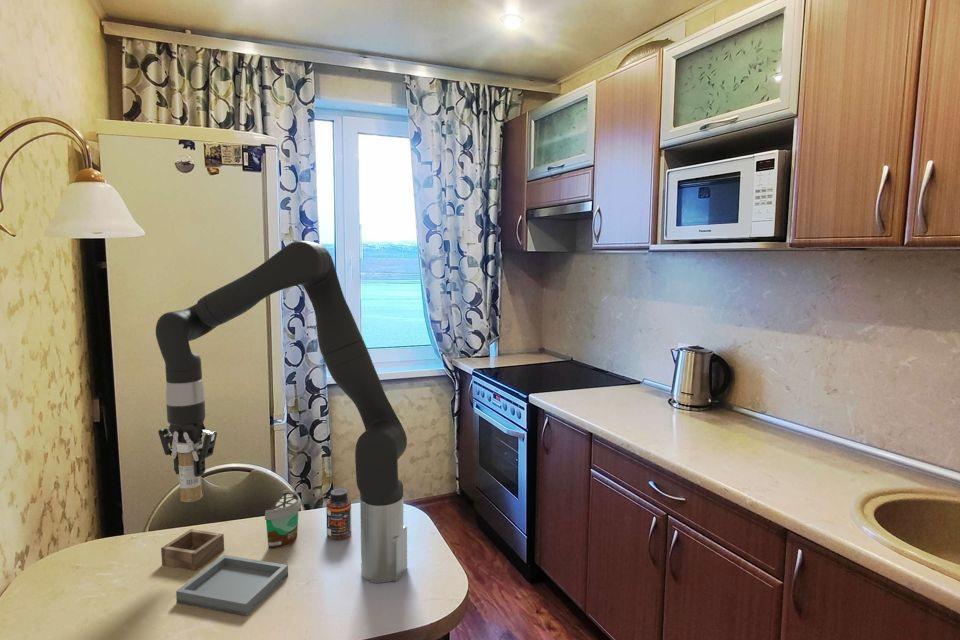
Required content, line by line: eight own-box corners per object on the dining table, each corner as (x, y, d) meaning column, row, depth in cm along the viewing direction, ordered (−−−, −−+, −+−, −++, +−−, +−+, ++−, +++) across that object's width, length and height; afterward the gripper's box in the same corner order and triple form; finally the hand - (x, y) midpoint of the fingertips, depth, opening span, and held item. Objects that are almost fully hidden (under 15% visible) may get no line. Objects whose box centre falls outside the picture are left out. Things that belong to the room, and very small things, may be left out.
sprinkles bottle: (203, 493, 129) (200, 437, 128) (201, 501, 125) (198, 443, 124) (181, 496, 128) (178, 439, 126) (178, 504, 124) (174, 445, 122)
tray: (288, 576, 121) (287, 565, 121) (246, 616, 108) (245, 604, 107) (224, 565, 125) (224, 554, 125) (176, 602, 112) (176, 591, 111)
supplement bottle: (328, 543, 135) (327, 498, 134) (325, 531, 141) (324, 488, 139) (353, 538, 138) (352, 494, 136) (349, 527, 143) (348, 485, 142)
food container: (292, 552, 131) (290, 511, 130) (265, 552, 131) (264, 511, 130) (309, 527, 143) (308, 489, 142) (285, 526, 143) (284, 489, 142)
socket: (224, 550, 132) (223, 533, 131) (196, 570, 123) (195, 553, 122) (191, 544, 134) (191, 528, 133) (162, 564, 125) (161, 548, 125)
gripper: (224, 398, 126) (228, 471, 128) (171, 393, 129) (176, 465, 131) (200, 406, 119) (204, 484, 121) (145, 402, 122) (150, 477, 124)
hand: (189, 473), depth 126 cm, fingers closed on sprinkles bottle, 4 cm apart
